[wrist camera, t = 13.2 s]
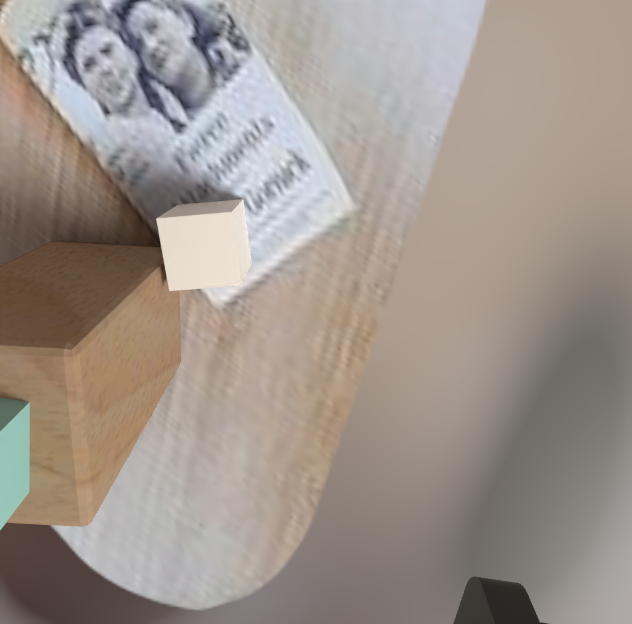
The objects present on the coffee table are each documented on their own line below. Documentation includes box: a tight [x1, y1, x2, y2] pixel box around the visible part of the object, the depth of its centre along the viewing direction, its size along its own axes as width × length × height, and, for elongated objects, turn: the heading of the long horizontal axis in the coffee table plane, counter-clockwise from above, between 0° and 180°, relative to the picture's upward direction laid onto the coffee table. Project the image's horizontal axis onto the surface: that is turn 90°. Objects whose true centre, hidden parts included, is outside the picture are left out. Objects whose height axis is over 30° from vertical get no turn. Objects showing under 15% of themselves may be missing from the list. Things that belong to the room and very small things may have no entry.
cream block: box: [156, 199, 252, 291], centre depth 41 cm, size 5×5×6 cm
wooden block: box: [0, 241, 181, 526], centre depth 36 cm, size 10×10×20 cm
